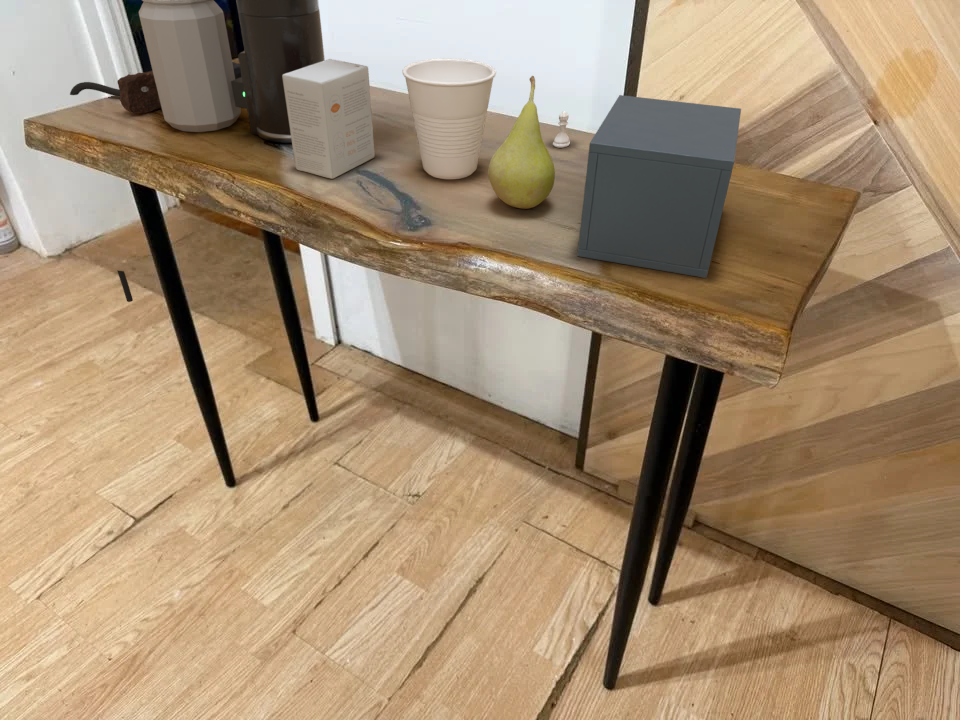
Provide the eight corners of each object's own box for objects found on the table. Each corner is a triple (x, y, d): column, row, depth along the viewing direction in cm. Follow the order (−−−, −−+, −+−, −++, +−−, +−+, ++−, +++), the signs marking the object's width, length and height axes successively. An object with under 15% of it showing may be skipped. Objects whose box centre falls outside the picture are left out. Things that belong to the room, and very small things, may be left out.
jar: (180, 139, 88) (142, -25, 77) (153, 119, 94) (114, -36, 83) (255, 124, 93) (228, -31, 82) (225, 106, 99) (196, -42, 88)
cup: (483, 191, 77) (486, 86, 70) (395, 182, 78) (390, 78, 72) (500, 158, 85) (503, 61, 78) (419, 151, 86) (416, 55, 80)
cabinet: (606, 195, 76) (619, 94, 70) (717, 212, 74) (741, 108, 67) (577, 256, 65) (589, 142, 59) (706, 278, 62) (734, 161, 56)
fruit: (483, 215, 72) (486, 94, 65) (494, 186, 78) (497, 72, 71) (549, 221, 71) (559, 98, 64) (555, 191, 77) (564, 76, 70)
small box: (339, 149, 86) (329, 57, 80) (376, 158, 84) (369, 64, 78) (293, 170, 81) (280, 73, 74) (332, 180, 78) (321, 81, 72)
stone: (133, 118, 94) (122, 78, 91) (119, 113, 95) (108, 74, 92) (181, 104, 99) (173, 66, 96) (168, 100, 101) (159, 62, 98)
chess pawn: (562, 149, 88) (565, 116, 85) (548, 145, 89) (551, 113, 86) (573, 143, 89) (576, 111, 87) (560, 140, 90) (563, 108, 88)
